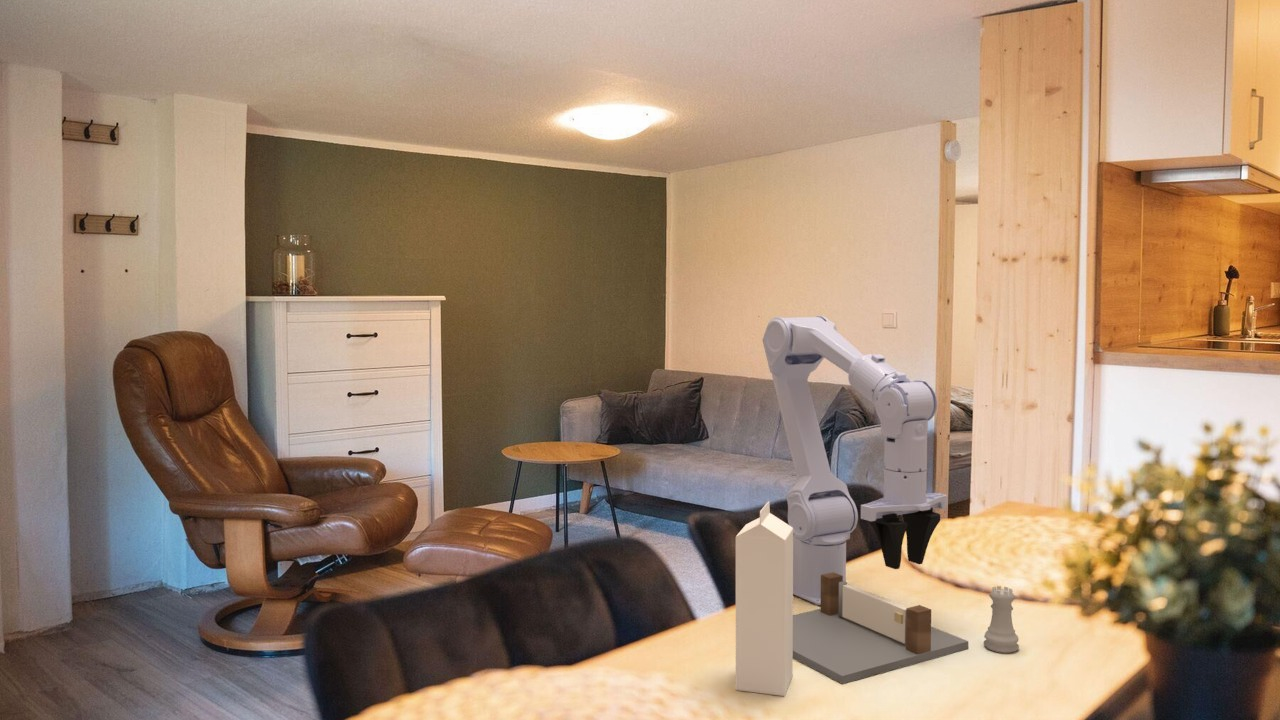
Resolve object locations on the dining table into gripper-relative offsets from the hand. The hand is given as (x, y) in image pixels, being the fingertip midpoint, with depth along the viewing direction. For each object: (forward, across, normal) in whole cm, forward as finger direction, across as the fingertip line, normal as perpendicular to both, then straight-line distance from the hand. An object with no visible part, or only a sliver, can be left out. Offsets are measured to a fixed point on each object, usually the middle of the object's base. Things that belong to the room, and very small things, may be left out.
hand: (903, 564), depth 133 cm
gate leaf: (+8, -5, 0) cm, 10 cm away
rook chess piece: (+10, +6, -11) cm, 16 cm away
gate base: (+9, -8, +1) cm, 13 cm away
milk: (+10, -28, -4) cm, 29 cm away
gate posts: (+8, -5, 0) cm, 10 cm away
